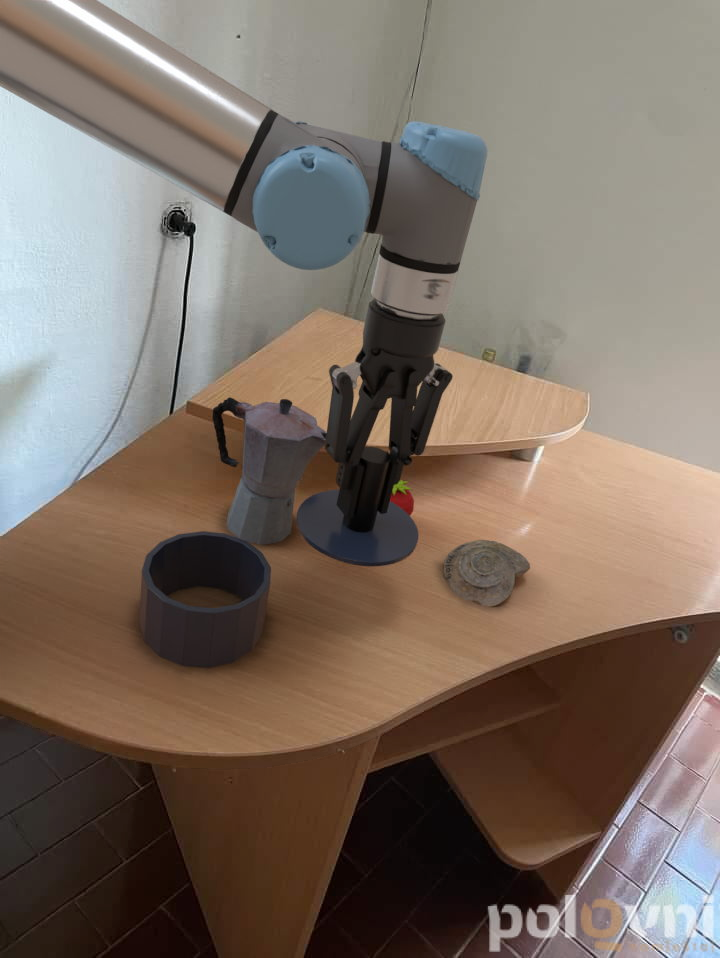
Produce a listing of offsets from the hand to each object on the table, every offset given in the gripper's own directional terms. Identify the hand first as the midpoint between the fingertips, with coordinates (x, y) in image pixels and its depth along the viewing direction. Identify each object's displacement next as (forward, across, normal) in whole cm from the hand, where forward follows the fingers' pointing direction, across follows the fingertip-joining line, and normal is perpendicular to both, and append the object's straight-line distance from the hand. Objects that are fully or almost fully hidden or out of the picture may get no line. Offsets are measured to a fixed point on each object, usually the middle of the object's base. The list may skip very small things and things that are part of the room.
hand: (361, 508), depth 78 cm
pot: (+14, -17, 0) cm, 22 cm away
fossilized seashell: (+14, +21, -2) cm, 25 cm away
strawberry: (+14, +13, +12) cm, 23 cm away
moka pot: (+14, -5, +16) cm, 22 cm away
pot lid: (+3, 0, 0) cm, 3 cm away
